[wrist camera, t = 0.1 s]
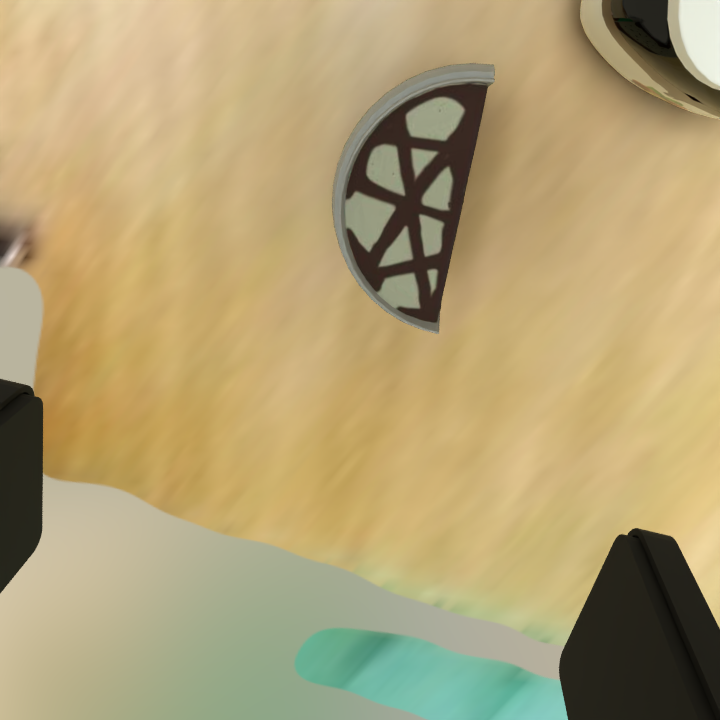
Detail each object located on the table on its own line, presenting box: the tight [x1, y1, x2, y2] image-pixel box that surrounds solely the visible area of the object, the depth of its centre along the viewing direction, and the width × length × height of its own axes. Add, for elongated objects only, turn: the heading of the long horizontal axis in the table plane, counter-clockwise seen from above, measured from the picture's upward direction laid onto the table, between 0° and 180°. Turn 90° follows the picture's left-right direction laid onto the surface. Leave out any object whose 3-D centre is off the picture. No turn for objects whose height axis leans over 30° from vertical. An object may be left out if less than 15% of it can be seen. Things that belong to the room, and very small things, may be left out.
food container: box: [332, 63, 495, 334], centre depth 34 cm, size 12×6×10 cm, turn 170°
